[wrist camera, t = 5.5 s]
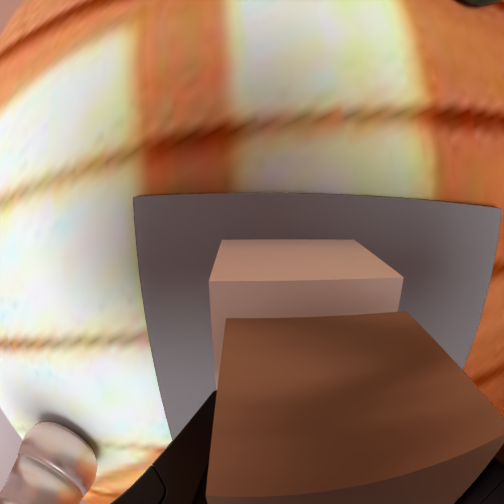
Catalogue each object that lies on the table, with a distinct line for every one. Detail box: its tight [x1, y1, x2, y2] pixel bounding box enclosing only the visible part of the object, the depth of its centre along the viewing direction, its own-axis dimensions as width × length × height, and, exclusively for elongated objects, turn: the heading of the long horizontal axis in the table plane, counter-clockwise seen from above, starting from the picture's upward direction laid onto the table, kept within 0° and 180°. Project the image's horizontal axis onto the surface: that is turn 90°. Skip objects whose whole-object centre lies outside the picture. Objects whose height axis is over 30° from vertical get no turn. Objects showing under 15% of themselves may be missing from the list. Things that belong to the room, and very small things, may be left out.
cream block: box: [209, 239, 404, 390], centre depth 12 cm, size 6×6×5 cm
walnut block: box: [206, 311, 504, 504], centre depth 6 cm, size 5×5×5 cm
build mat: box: [133, 193, 502, 440], centre depth 16 cm, size 20×18×1 cm
